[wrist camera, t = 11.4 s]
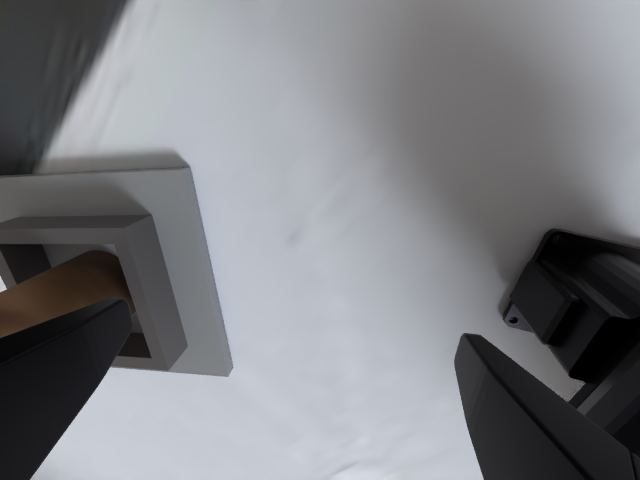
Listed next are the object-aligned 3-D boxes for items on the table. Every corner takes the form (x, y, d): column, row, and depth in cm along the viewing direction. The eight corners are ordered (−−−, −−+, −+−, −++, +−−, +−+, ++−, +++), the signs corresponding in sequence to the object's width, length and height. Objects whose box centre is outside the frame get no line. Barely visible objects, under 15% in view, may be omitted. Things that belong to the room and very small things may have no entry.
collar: (190, 166, 20) (154, 178, 17) (233, 367, 26) (212, 403, 23) (-15, 176, 23) (-79, 187, 19) (66, 354, 29) (27, 385, 25)
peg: (153, 282, 22) (-102, 473, 11) (127, 329, 25) (-110, 532, 13) (86, 235, 22) (-262, 380, 10) (65, 287, 24) (-242, 458, 12)
